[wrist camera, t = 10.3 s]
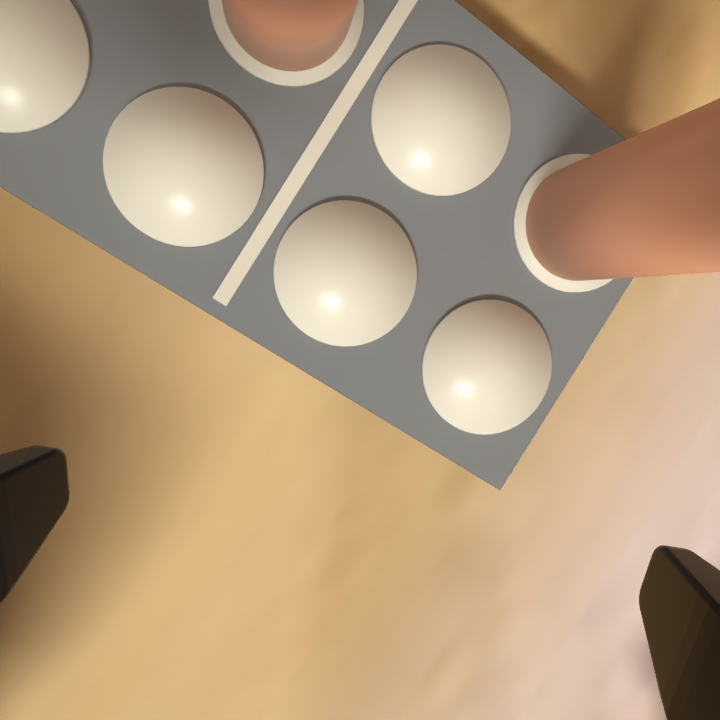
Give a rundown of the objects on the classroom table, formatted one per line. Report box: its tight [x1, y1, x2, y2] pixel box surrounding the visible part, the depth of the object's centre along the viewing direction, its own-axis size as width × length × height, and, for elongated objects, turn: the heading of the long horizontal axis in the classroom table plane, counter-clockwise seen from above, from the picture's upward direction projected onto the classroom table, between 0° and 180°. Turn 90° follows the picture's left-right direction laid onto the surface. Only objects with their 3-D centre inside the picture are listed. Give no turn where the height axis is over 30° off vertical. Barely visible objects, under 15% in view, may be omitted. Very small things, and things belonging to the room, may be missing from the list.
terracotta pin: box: [526, 99, 720, 281], centre depth 14 cm, size 4×4×12 cm
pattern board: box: [0, 0, 633, 490], centre depth 17 cm, size 13×24×6 cm, turn 57°
